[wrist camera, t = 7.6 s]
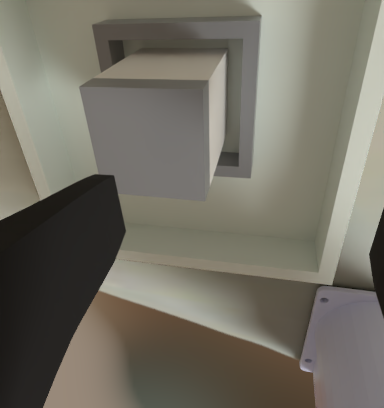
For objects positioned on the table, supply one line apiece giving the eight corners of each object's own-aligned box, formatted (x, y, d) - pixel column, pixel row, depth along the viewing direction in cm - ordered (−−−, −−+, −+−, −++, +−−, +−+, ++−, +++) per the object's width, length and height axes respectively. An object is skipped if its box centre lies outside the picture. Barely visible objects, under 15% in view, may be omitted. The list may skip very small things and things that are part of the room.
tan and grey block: (226, 134, 17) (204, 201, 12) (150, 130, 18) (102, 192, 13) (228, 48, 15) (202, 89, 10) (140, 48, 16) (78, 86, 11)
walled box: (326, 247, 20) (331, 285, 18) (81, 222, 24) (59, 252, 21) (432, -205, 10) (478, -255, 8) (-25, -141, 13) (-92, -164, 11)
